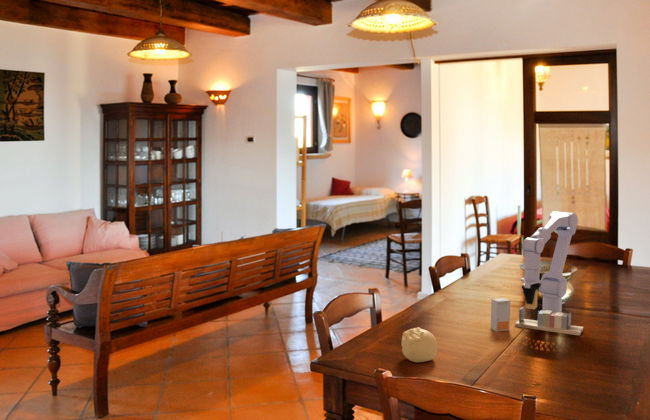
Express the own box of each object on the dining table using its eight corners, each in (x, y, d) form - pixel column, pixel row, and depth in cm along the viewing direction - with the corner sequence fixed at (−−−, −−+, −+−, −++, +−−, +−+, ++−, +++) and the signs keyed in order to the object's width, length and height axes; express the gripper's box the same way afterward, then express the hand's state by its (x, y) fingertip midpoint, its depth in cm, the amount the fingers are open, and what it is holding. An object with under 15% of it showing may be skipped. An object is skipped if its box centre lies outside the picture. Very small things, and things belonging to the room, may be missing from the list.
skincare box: (496, 332, 242) (496, 301, 241) (490, 328, 246) (490, 298, 245) (510, 330, 244) (510, 300, 242) (504, 327, 248) (504, 297, 247)
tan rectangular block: (527, 305, 252) (528, 288, 251) (536, 306, 250) (537, 289, 249) (525, 308, 248) (526, 290, 247) (534, 309, 246) (535, 292, 245)
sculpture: (398, 354, 219) (398, 323, 217) (432, 353, 219) (432, 322, 218) (404, 366, 207) (404, 334, 206) (440, 364, 208) (441, 333, 207)
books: (540, 322, 250) (540, 309, 250) (568, 326, 245) (569, 312, 244) (537, 325, 246) (537, 312, 245) (566, 329, 241) (567, 316, 240)
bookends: (522, 319, 254) (522, 306, 253) (570, 326, 245) (571, 312, 244) (519, 322, 250) (519, 309, 249) (568, 329, 240) (568, 315, 240)
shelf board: (519, 321, 256) (519, 318, 256) (583, 329, 244) (583, 326, 244) (514, 326, 249) (515, 323, 249) (579, 335, 237) (579, 332, 237)
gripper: (525, 264, 256) (524, 297, 257) (517, 270, 243) (516, 305, 245) (543, 265, 252) (542, 299, 254) (535, 272, 240) (534, 307, 241)
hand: (530, 302), depth 249 cm, fingers closed on tan rectangular block, 4 cm apart
